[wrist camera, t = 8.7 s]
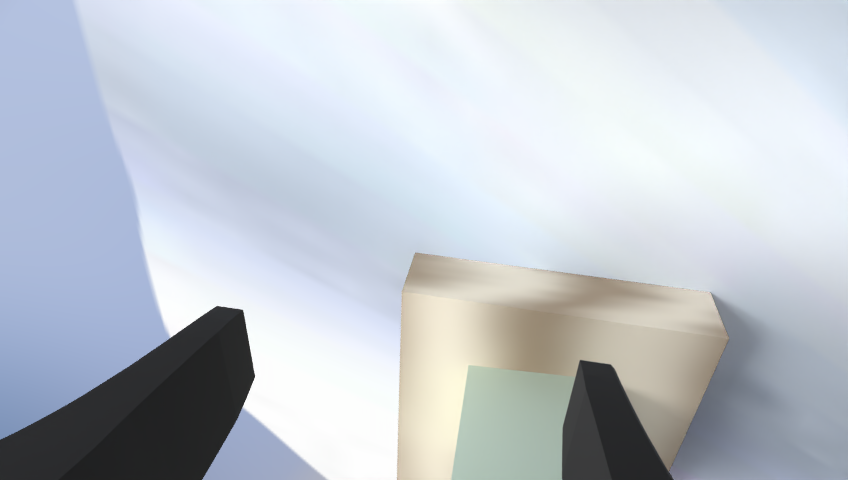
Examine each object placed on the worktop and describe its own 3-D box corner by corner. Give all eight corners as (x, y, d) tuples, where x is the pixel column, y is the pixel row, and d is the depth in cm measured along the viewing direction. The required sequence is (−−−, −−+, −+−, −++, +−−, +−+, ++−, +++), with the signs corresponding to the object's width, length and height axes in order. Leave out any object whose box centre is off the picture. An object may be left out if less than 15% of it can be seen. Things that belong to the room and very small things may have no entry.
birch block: (707, 284, 21) (729, 338, 19) (634, 466, 27) (644, 526, 24) (417, 246, 22) (401, 291, 20) (409, 427, 28) (397, 480, 26)
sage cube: (605, 380, 20) (622, 507, 16) (587, 467, 23) (597, 595, 19) (468, 364, 21) (450, 482, 17) (466, 450, 24) (450, 570, 20)
